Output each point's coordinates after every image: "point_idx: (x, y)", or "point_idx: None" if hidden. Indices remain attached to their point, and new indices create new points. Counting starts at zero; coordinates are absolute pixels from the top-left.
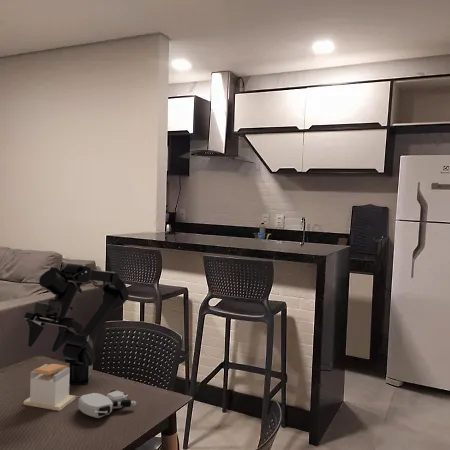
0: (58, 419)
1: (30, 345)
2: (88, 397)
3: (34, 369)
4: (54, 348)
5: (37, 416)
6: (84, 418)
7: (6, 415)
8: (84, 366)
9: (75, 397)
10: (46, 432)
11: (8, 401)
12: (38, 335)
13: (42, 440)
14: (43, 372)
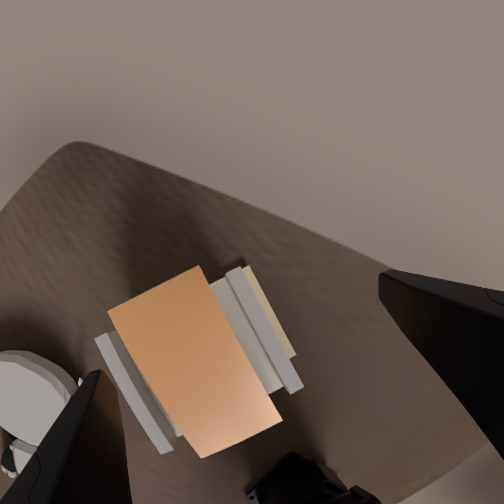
0: (73, 297)
1: (383, 290)
2: (41, 400)
3: (198, 265)
4: (80, 391)
5: (133, 260)
6: (34, 353)
7: (210, 194)
8: None
9: (79, 381)
10: (41, 234)
11: (305, 240)
12: (456, 390)
13: (22, 209)
14: (139, 294)
